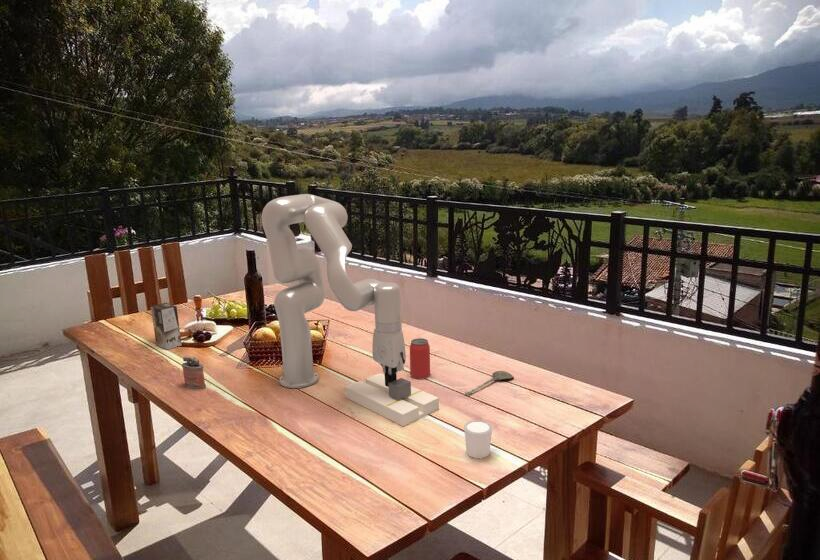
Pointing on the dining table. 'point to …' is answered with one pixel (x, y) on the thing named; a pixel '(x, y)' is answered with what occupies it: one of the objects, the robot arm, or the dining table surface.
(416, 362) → the beer can
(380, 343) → the robot arm
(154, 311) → the coffee box
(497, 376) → the soupspoon
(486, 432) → the white cup
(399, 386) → the fader knob
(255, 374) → the dining table surface
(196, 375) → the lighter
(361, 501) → the dining table surface
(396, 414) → the slider console
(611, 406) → the dining table surface
